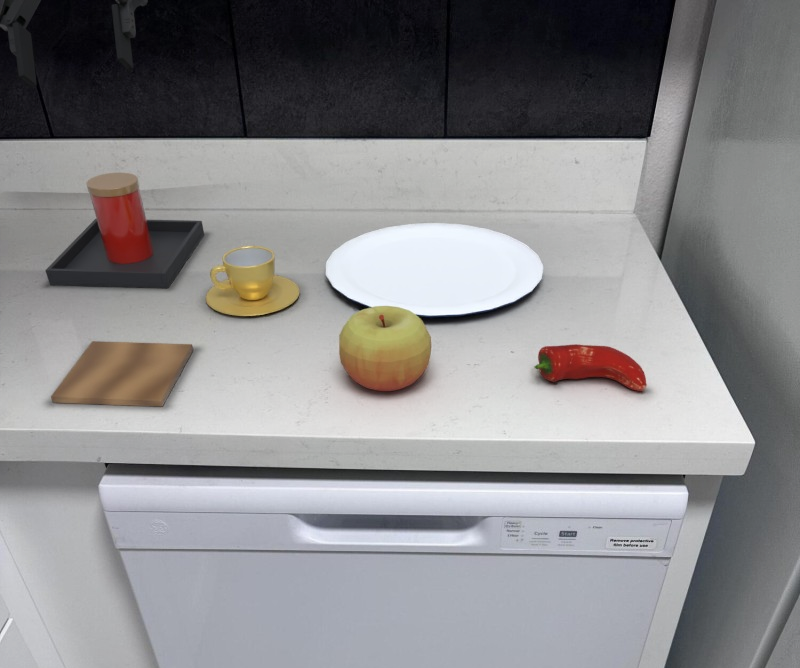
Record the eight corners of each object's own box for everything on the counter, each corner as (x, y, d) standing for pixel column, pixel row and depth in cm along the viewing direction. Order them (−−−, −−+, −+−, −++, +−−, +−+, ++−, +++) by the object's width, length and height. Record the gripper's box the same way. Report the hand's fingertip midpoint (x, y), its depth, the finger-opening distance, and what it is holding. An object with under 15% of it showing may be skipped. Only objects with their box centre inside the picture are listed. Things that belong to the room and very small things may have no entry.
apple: (349, 409, 82) (345, 340, 77) (333, 363, 89) (328, 296, 84) (440, 396, 84) (442, 327, 79) (417, 352, 91) (417, 286, 86)
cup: (287, 271, 108) (282, 232, 104) (310, 309, 99) (306, 267, 96) (199, 285, 105) (191, 245, 101) (215, 325, 96) (207, 283, 93)
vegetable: (539, 367, 81) (652, 380, 82) (538, 327, 84) (648, 340, 84) (528, 393, 85) (636, 406, 86) (528, 354, 88) (633, 367, 88)
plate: (342, 337, 94) (341, 324, 93) (313, 242, 115) (312, 230, 114) (574, 313, 98) (576, 300, 97) (505, 225, 119) (506, 214, 118)
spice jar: (99, 263, 109) (78, 188, 102) (115, 244, 114) (97, 172, 107) (145, 264, 108) (128, 189, 102) (160, 245, 113) (144, 172, 106)
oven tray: (49, 285, 105) (44, 270, 104) (99, 232, 119) (95, 218, 117) (168, 288, 104) (164, 273, 103) (204, 234, 118) (201, 220, 116)
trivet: (52, 402, 84) (50, 396, 83) (94, 347, 93) (92, 340, 92) (162, 406, 83) (160, 400, 83) (193, 350, 92) (192, 344, 91)
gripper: (162, -102, 101) (179, 70, 103) (-14, -65, 105) (6, 100, 107) (134, -146, 94) (153, 41, 95) (-54, -105, 98) (-32, 73, 99)
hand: (76, 72), depth 101 cm, fingers open, 13 cm apart
